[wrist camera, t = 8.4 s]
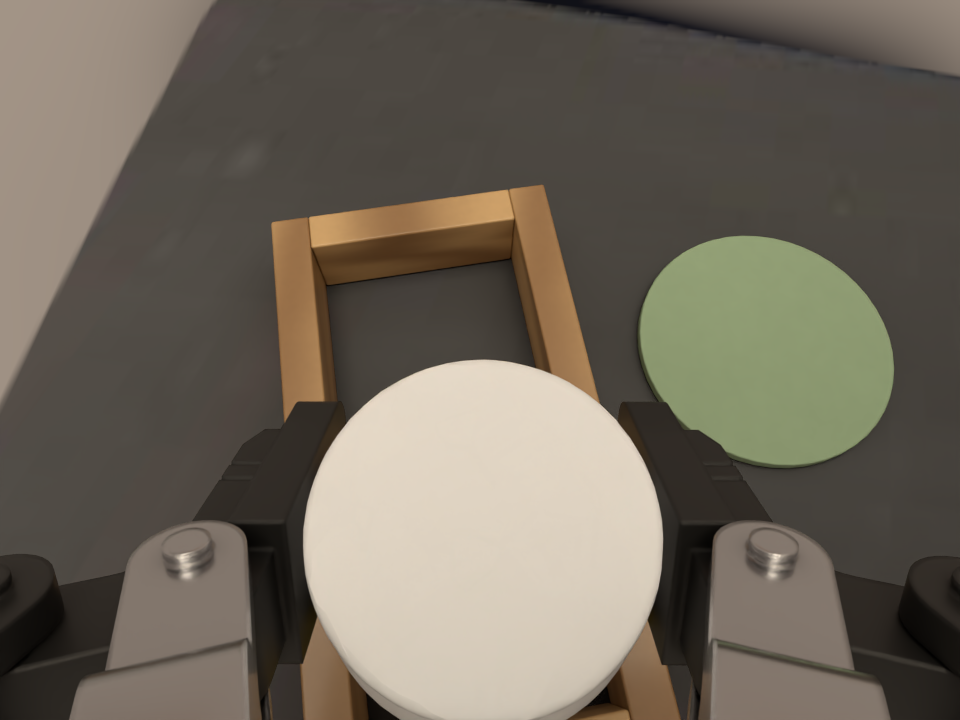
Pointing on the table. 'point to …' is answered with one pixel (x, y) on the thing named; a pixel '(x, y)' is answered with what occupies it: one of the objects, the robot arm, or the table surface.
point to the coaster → (766, 351)
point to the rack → (415, 248)
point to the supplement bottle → (483, 545)
